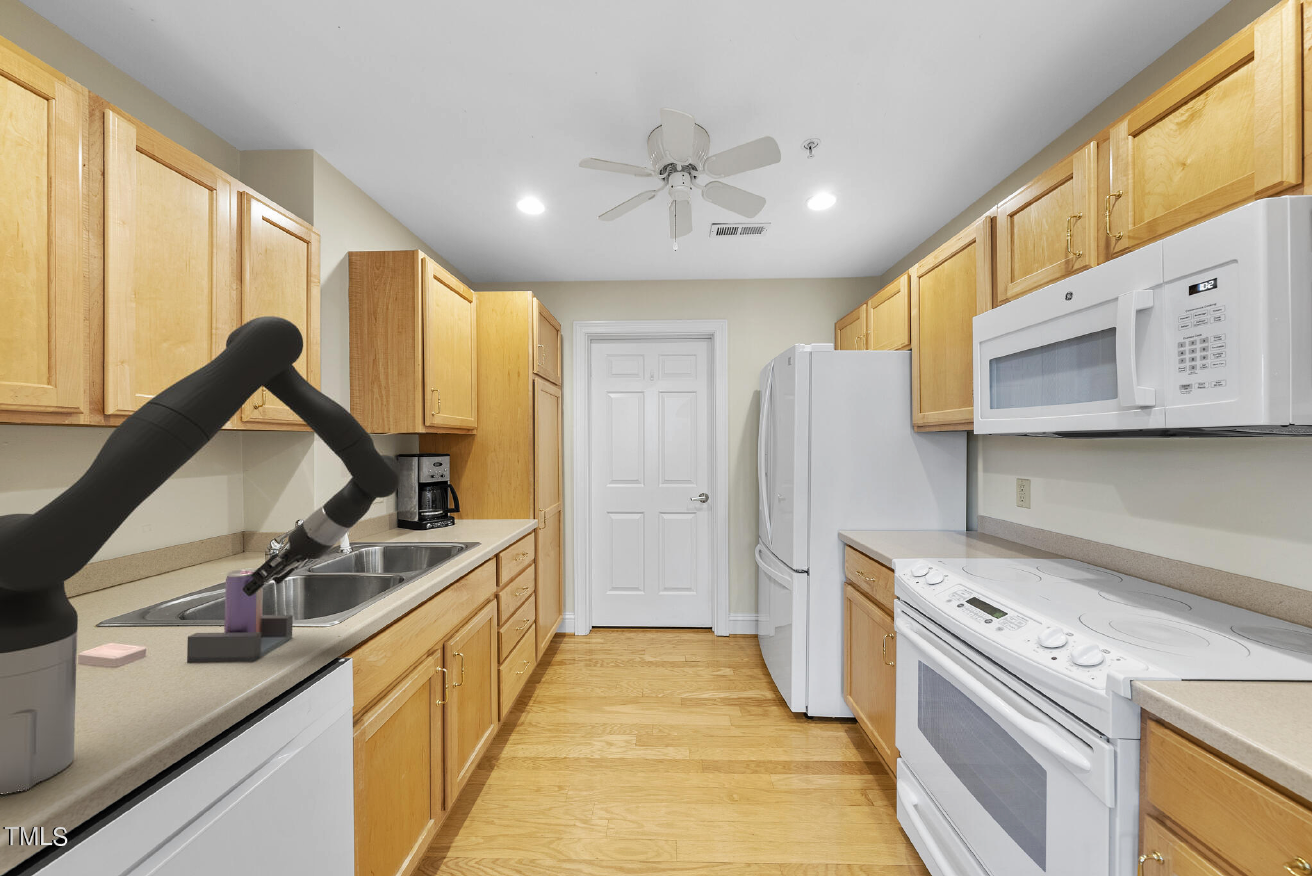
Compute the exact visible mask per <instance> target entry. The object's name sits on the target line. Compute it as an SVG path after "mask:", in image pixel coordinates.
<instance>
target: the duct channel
mask: <svg viewBox="0 0 1312 876" xmlns="http://www.w3.org/2000/svg"><path fill="white" fill-rule="evenodd" d="M293 617H294V616H293V614H279V615H278V614H262V639H261V632H244V633H224V632H195V633H193V634H191V635H189V636H187V645H186V647H187V648H186V650H187V652H186V656H187V657H186V663H187V664H196V663H197V664H201V663H204V664H205V663H206V664H207V663H208V664H209V663H211V664H212V663H213V664H215V663H216V664H217V663H255V662H256V661H258V660H259V659H261V658H262V657H264V656H265V655H267V654H269V653H270V652H272V651H274V650H275V649H277V648H278V647H280V646H282V645H283V644H285V643H287V642H288V641H290V640H292V639H293V623H294V622H293Z"/></svg>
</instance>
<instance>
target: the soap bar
mask: <svg viewBox="0 0 1312 876" xmlns="http://www.w3.org/2000/svg"><path fill="white" fill-rule="evenodd" d="M147 649H148V648H147V646H140V645H131V644H122V643H121V644H120V643H115V642H114V643H112V642H108V643H105V644H103V645H100V646H96V647H94V648H90V649H87V650H84V651H83V650H82V651H81V652H79V654H78V655H77V658H78V659H77V661H78V662H77V663H78V665H87V666H93V665H96V667H103V668H110V667H111V669H112V668H113V669H114V668H115V667H116V668H120V667H123V666H125V665H128V664H130V663H134V662H136V661H139V660H142V659H144V657H145V658H146V657H147ZM141 658H142V659H141Z"/></svg>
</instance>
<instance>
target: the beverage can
mask: <svg viewBox="0 0 1312 876" xmlns="http://www.w3.org/2000/svg"><path fill="white" fill-rule="evenodd" d="M258 568H259V567H258ZM258 568H257V567H256V568H255V567H252V568H242V569H237V570H232V571H229V572H227V573H226V578H225V589H224V590H225V591H224V592H225V595H224V596H225V597H224V632H223V633H244V632H261V639H262V615H263V600H264V599H263V597H264V586H263V587H262V588H260V589H259V590H258V591H257V592H256V593H255V594H254V595H252V596H248V595H247V594H246V593H245V592H244V591H243V587H245V586H246V585H247V584H248V583H249V582H250V581H251V580H252V579H253V577H252V576H251V575H252V573H253V572H255V571H256V570H257V569H258Z"/></svg>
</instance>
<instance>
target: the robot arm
mask: <svg viewBox="0 0 1312 876" xmlns="http://www.w3.org/2000/svg"><path fill="white" fill-rule="evenodd" d="M225 342H226V343H225V349H223V350H222V351H221V353H219V354H218V355H217V356H216V357H215V358H213V360H211V361H210V362H208V363H207V364H205V365H204V366H202V367H200V368H198V369H197V370H195V371H194V372H192V373H190V374H188V375H187V376H185V377H183V378H181V379H180V380H178V381H177V382H175V383H173V384H172V385H169V387H167V388H165V389H164V390H163V391H161V392H159V393H158V394H157V395H155V396H154V397H153V398H151V399H150V400H148V401H147V402H145V403H144V404H143V405H142V406H140V408H138V409H136V411H134V412H133V413H132V414H130V416H128V417H127V418H125V420H123V421H122V422H121V423H120V424H119V425H118V426H117V427H116V428H115V429H114V430H113V431H112V433H111V434H110V435H109V437H108V438H107V439H106V441H105V443H104V444H103V445H102V447H101V449H100V450H99V452H98V454H97V455H96V457H95V459H94V460H93V462H92V463H91V464H90V466H89V468H88V469H87V470H86V471H85V472H84V474H83V475H82V476H81V477H80V478H78V480H76V482H74V483H73V484H72V485H71V486H70V487H69V488H67V489H66V490H65V491H63V492H62V493H61V494H59V495H57V496H56V497H55V498H54V499H53V500H52V501H50V502H49V503H48V504H46V505H44V506H43V507H42V508H40V509H39V510H37V511H36V512H34V513H11V514H5V515H0V794H1V793H3V794H4V793H7V792H8V793H9V792H15V791H18V790H19V791H20V790H25V791H28V790H29V788H30V789H31V788H32V787H34V785H36V783H37V784H39V783H41V782H43V781H45V780H47V779H49V778H51V777H53V776H55V775H57V774H59V773H60V772H62V771H63V770H64V769H67V767H68V766H70V765H71V764H72V762H73V761H74V759H75V736H76V735H75V732H76V730H75V729H76V727H75V726H76V725H75V724H76V721H75V720H76V695H77V694H76V689H77V688H76V687H77V663H78V662H77V661H78V659H77V658H78V655H77V653H78V628H79V627H78V625H79V621H78V619H79V618H78V617H79V616H78V615H79V614H78V611H77V610H76V608H75V607H74V606H73V605H72V603H71V602H70V600H69V599H68V596H67V592H66V590H65V582H66V581H67V580H69V579H70V578H72V577H73V576H75V575H76V574H78V573H79V572H81V570H82V569H83V568H84V567H85V566H86V565H88V563H89V562H90V561H91V560H92V559H93V558H94V557H95V556H96V555H97V554H98V552H99V551H100V550H101V549H102V548H103V546H104V545H105V544H106V543H107V542H108V540H109V539H110V538H111V537H112V536H113V535H114V534H115V532H116V531H117V530H118V529H119V528H120V526H121V525H122V524H123V523H124V522H125V521H126V520H127V519H128V518H129V517H130V516H131V515H132V514H133V512H134V511H135V510H136V509H137V508H138V507H139V506H140V505H141V504H142V503H143V502H144V501H146V500H147V499H148V498H149V497H150V496H152V494H154V493H155V492H156V491H157V490H158V489H159V488H161V487H162V485H163V484H164V483H166V482H167V480H169V478H171V477H172V476H173V475H174V474H175V473H176V472H178V470H179V469H181V467H183V466H184V465H185V464H187V462H189V461H190V460H191V459H192V458H193V457H194V456H195V455H196V454H197V453H198V452H200V451H201V449H202V448H204V447H205V446H206V445H207V444H208V443H210V441H211V440H212V439H213V438H214V437H215V436H216V435H217V434H218V433H219V432H220V430H222V429H223V427H224V426H226V424H227V423H228V422H229V421H230V420H231V419H232V418H233V417H234V416H235V415H236V414H237V413H238V412H239V410H240V409H242V407H243V406H244V405H245V404H246V402H247V401H248V400H249V399H250V398H251V397H252V396H253V395H254V394H255V393H256V392H257V391H258V390H260V389H261V388H262V387H263V388H264V389H266V390H267V391H268V392H269V393H270V394H272V395H273V396H274V397H275V398H277V399H278V400H279V401H280V402H281V403H282V404H284V405H285V406H286V407H288V409H290V410H291V411H292V412H293V413H294V414H296V415H297V416H298V417H299V418H300V419H301V420H302V421H303V422H304V423H305V424H306V425H307V426H308V427H309V428H310V429H311V430H312V431H313V432H314V433H315V434H316V435H317V436H318V437H319V439H321V440H322V441H323V442H324V444H325V445H326V446H327V447H328V448H329V449H330V450H331V451H332V452H333V453H334V455H336V456H337V457H338V458H339V459H340V460H341V461H342V463H343V465H344V467H345V468H346V469H347V471H348V473H349V474H350V475H351V478H350V479H349V481H348V482H347V483H345V485H344V486H343V487H342V488H341V489H340V490H339V491H337V493H335V494H334V495H333V496H332V497H331V498H330V499H328V500H327V501H326V502H325V503H324V504H323V505H322V506H321V507H319V508H318V509H316V510H314V512H312V513H311V514H310V515H309V516H308V517H307V518H306V519H305V520H304V521H302V522H301V524H299V525H298V527H296V528H295V529H294V530H292V532H291V533H290V534H289V535H288V540H287V541H288V544H289V548H287V547H286V548H284V549H283V550H281V551H280V552H279V554H278V553H274V554H272V555H271V556H270V558H268V559H267V560H266V561H265V562H264V563H262V564H261V565H260V566H259V567H258V569H257V570H256V571H255V572H253V573H252V575H251V576H252V577H253V579H252V580H251V581H250V582H249V583H248V584H247V585H246V586H245V587H243V591H244V592H245V593H246V594H247V595H248V596H252V595H254V594H255V593H256V592H257V591H258V590H259V589H260V588H262V587H263V588H264V586H265V585H266V584H268V583H269V582H270V581H271V580H272V581H273V582H274V583H276V584H277V585H280V584H281V583H283V582H284V581H285V580H286V579H287V578H289V576H291V574H293V573H294V572H296V571H298V570H299V569H300V568H303V567H304V568H305V566H306V565H307V564H308V563H309V562H310V561H311V560H319V559H321V558H322V557H323V556H324V555H325V554H326V553H327V552H328V551H329V550H331V549H332V548H333V547H334V546H335V545H336V544H337V543H338V542H339V541H340V540H341V539H342V538H344V537H345V536H346V534H347V533H348V532H349V531H350V529H351V528H353V527H354V526H355V525H356V524H357V523H358V522H359V521H360V520H362V518H363V517H364V516H365V515H366V514H367V513H368V512H369V510H370V508H371V507H372V505H373V503H374V502H375V500H376V499H381V498H387V497H389V496H392V495H393V494H394V493H395V492H396V491H397V490H398V488H399V485H400V481H401V473H402V472H401V465H400V463H399V461H398V460H397V459H396V458H395V457H393V456H390V455H387V454H380V453H379V452H378V450H377V449H376V447H375V444H374V440H373V438H372V436H371V435H370V434H369V432H368V431H367V430H366V429H365V427H364V426H363V425H362V424H361V423H360V422H359V421H358V420H357V419H356V418H355V417H354V416H353V415H352V413H350V412H349V411H348V410H347V409H346V408H345V407H343V406H342V405H341V404H339V403H338V402H337V401H335V400H333V399H332V398H330V397H329V396H328V395H325V394H324V393H323V392H321V391H320V390H318V389H317V388H316V387H314V385H312V384H311V383H309V382H308V380H306V379H305V378H304V377H303V375H301V374H300V372H299V371H298V370H297V369H296V368H295V365H293V364H295V363H296V362H297V361H298V359H300V356H301V355H302V353H303V349H304V338H303V335H302V333H301V331H300V329H299V328H298V326H297V325H296V324H294V323H293V322H291V321H290V320H288V319H287V318H282V317H280V316H273V315H272V316H270V315H269V316H260V317H256V318H253V319H251V320H249V321H246V322H245V323H244V324H242V325H240V326H239V327H237V328H236V329H234V330H233V331H232V332H230V334H229V335H228V337H227V339H226V341H225ZM265 573H266V574H265ZM58 772H59V773H58ZM54 774H55V775H54ZM40 781H41V782H40ZM38 782H39V783H38ZM27 789H28V790H27ZM15 793H16V792H15ZM4 795H5V794H4Z"/></svg>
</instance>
